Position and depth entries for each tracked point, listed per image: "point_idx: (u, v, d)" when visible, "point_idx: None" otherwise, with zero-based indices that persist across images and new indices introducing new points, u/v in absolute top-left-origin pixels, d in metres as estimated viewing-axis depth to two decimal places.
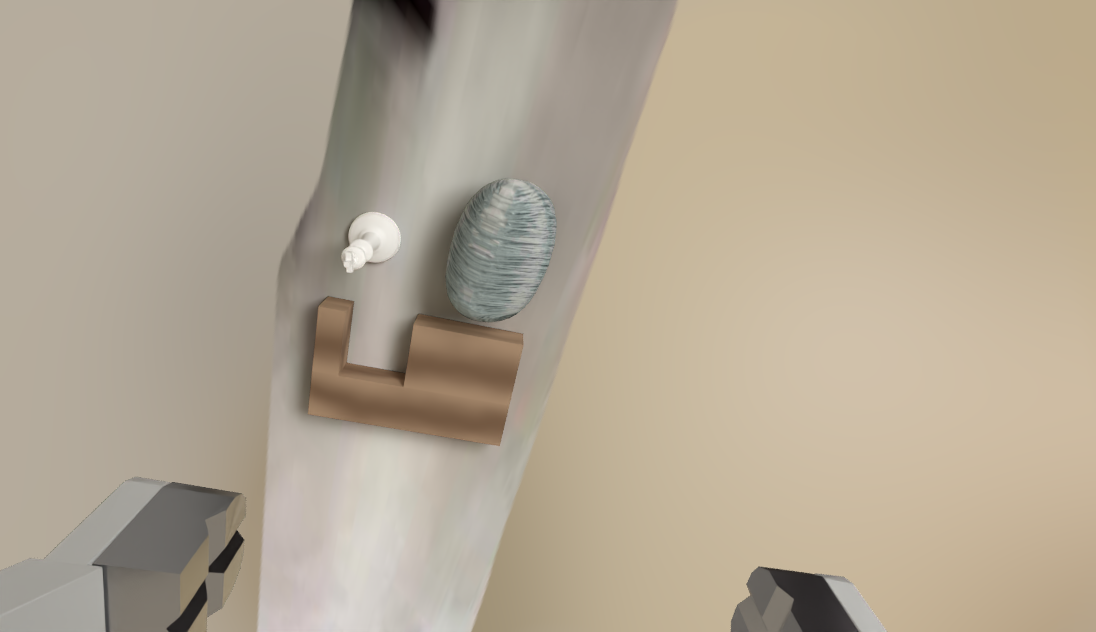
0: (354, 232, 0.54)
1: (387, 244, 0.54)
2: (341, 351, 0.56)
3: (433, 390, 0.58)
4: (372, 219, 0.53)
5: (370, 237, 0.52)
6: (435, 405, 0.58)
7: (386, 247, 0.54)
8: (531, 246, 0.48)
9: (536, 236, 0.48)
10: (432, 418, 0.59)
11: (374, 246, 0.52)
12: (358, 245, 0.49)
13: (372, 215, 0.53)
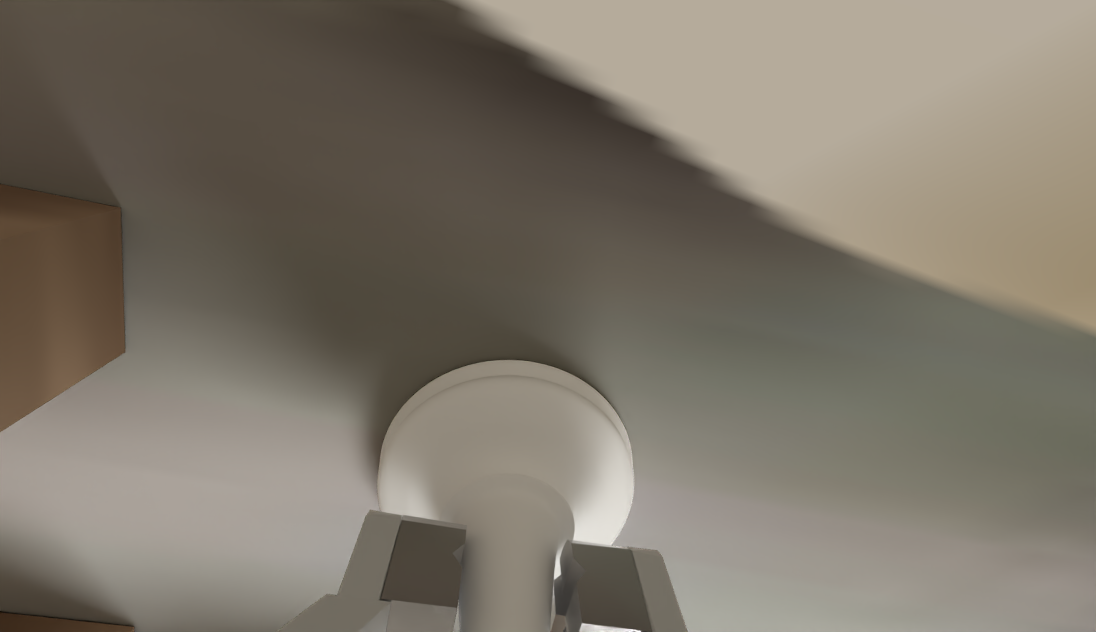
0: (545, 425, 0.10)
1: None
2: None
3: None
4: (610, 508, 0.10)
5: None
6: None
7: None
8: None
9: None
10: None
11: None
12: None
13: (628, 499, 0.11)
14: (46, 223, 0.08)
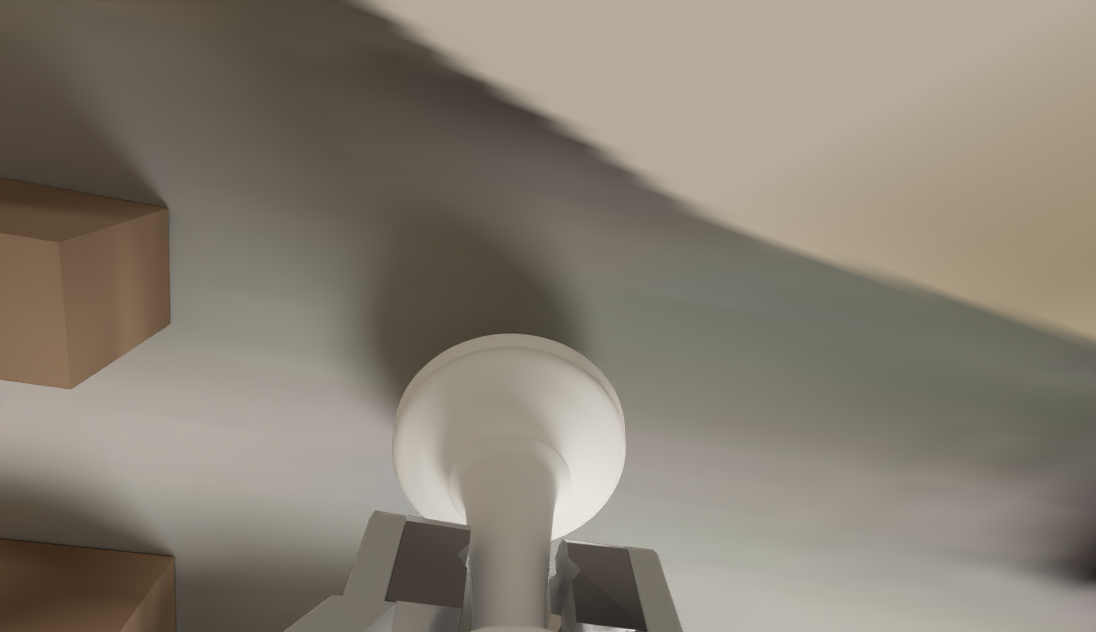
0: (537, 389, 0.11)
1: None
2: None
3: None
4: (605, 463, 0.11)
5: None
6: None
7: None
8: None
9: None
10: None
11: None
12: None
13: (621, 454, 0.12)
14: (118, 220, 0.10)
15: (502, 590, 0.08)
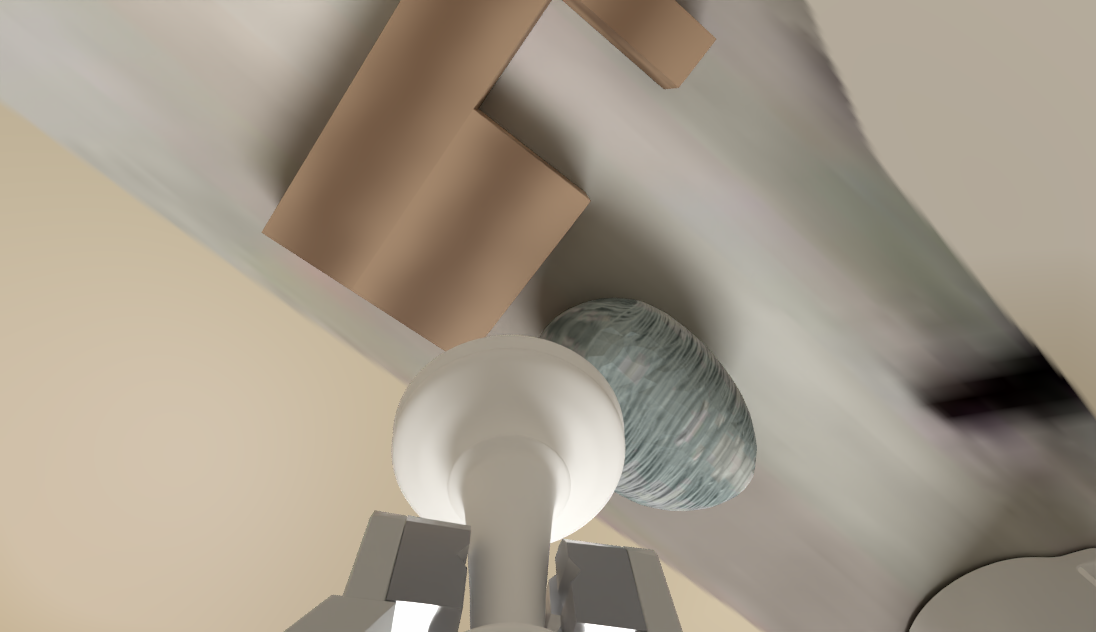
0: (537, 390, 0.11)
1: None
2: (604, 22, 0.25)
3: (440, 165, 0.27)
4: (604, 464, 0.11)
5: None
6: (406, 151, 0.27)
7: None
8: (658, 494, 0.28)
9: (666, 503, 0.29)
10: (376, 129, 0.26)
11: None
12: None
13: (620, 455, 0.12)
14: None
15: (500, 589, 0.08)
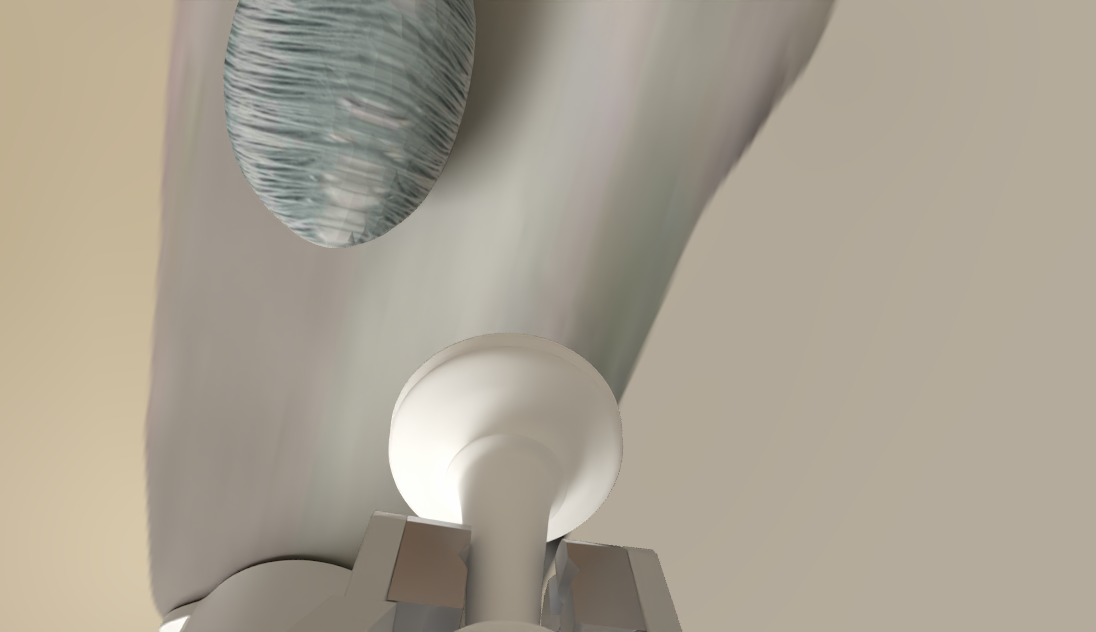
0: (534, 388, 0.11)
1: None
2: None
3: None
4: (601, 462, 0.11)
5: None
6: None
7: None
8: (257, 121, 0.21)
9: (251, 144, 0.21)
10: None
11: None
12: None
13: (617, 454, 0.12)
14: None
15: (496, 588, 0.08)
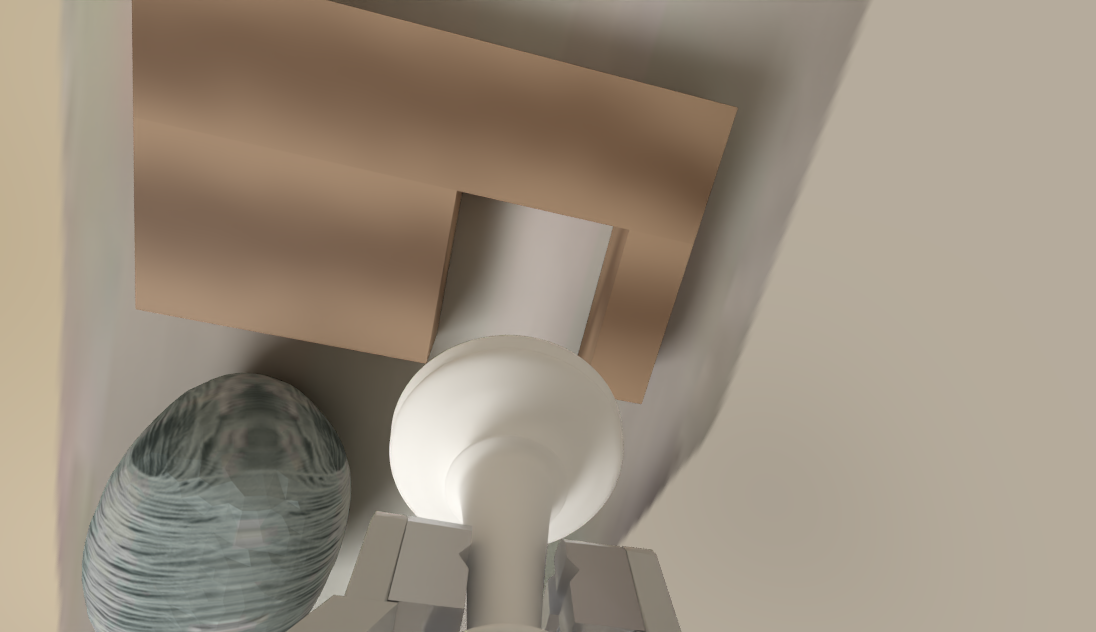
0: (534, 391, 0.11)
1: None
2: (610, 291, 0.22)
3: (371, 177, 0.20)
4: (602, 464, 0.11)
5: None
6: (364, 127, 0.19)
7: None
8: None
9: None
10: (370, 77, 0.19)
11: None
12: None
13: (618, 456, 0.12)
14: None
15: (496, 591, 0.08)
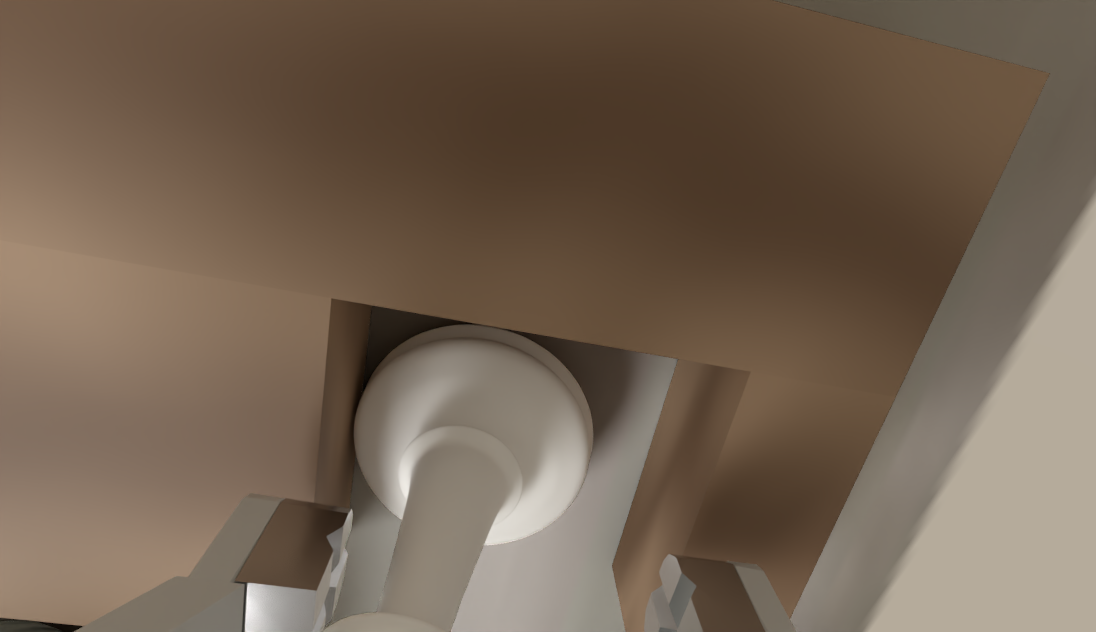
0: (491, 381, 0.10)
1: None
2: (698, 493, 0.10)
3: (107, 273, 0.08)
4: (564, 462, 0.11)
5: (483, 545, 0.09)
6: (63, 146, 0.07)
7: None
8: None
9: None
10: (52, 7, 0.07)
11: None
12: None
13: (583, 454, 0.11)
14: None
15: (406, 580, 0.08)
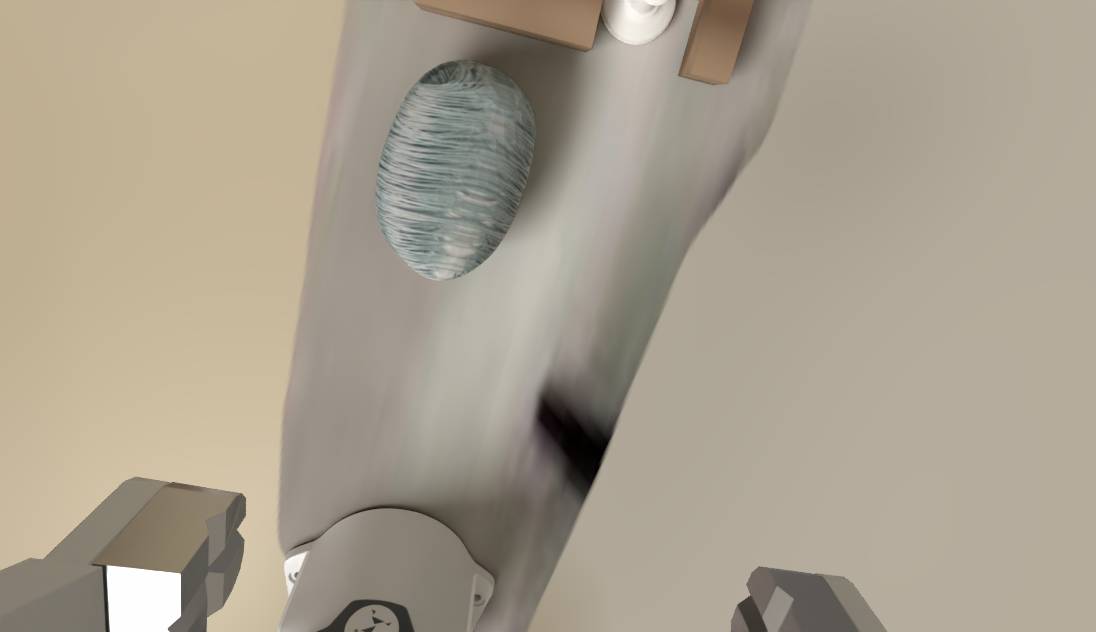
0: None
1: (635, 24, 0.36)
2: None
3: None
4: None
5: None
6: None
7: (631, 22, 0.36)
8: (403, 205, 0.33)
9: (397, 218, 0.33)
10: None
11: (646, 5, 0.34)
12: None
13: None
14: None
15: None
